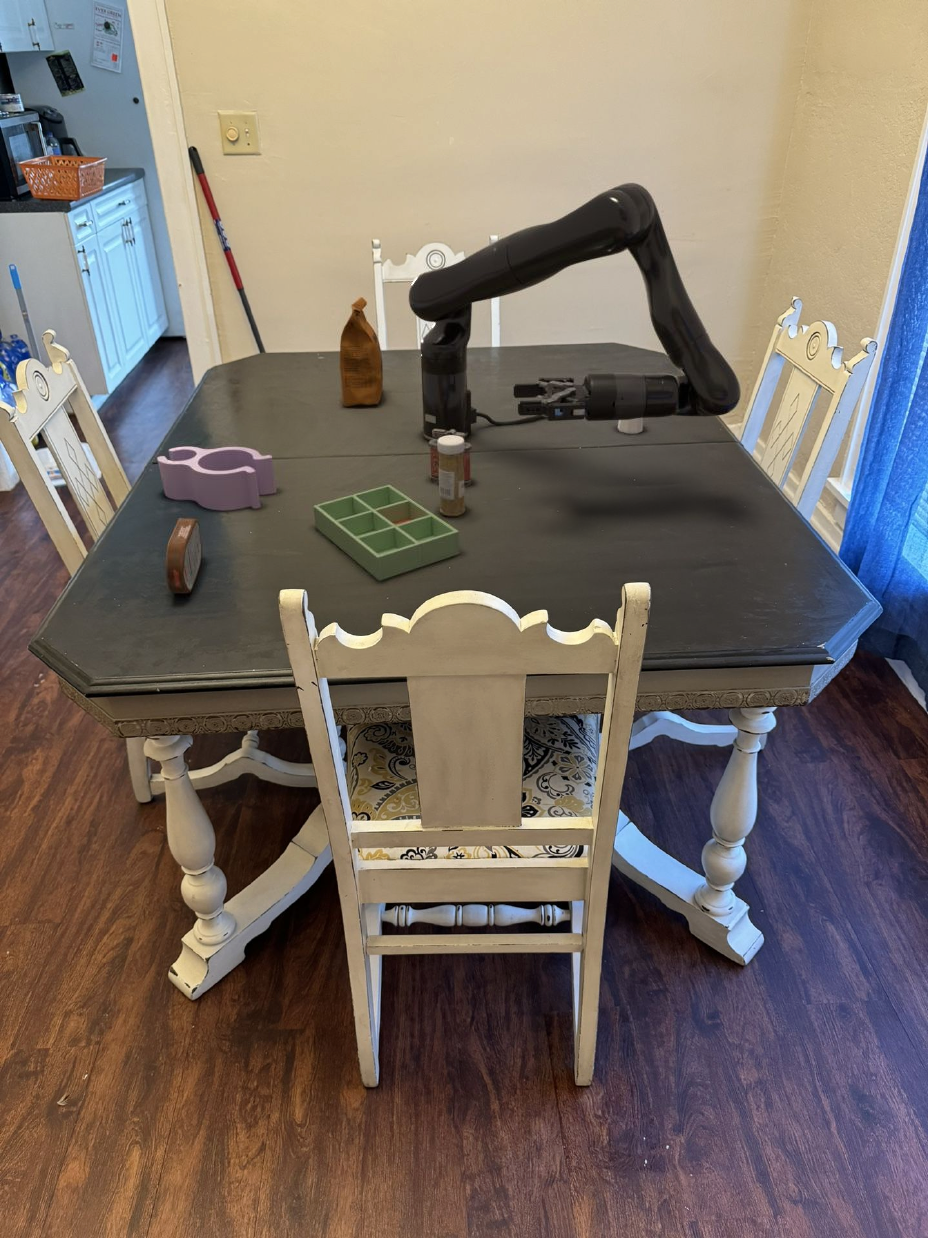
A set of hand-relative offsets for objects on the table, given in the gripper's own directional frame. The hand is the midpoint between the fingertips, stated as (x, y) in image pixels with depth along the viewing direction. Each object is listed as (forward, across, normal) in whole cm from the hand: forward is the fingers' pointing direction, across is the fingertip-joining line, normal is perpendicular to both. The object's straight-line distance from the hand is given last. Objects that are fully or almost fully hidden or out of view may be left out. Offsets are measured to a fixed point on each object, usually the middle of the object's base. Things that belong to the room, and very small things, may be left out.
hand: (515, 399), depth 142 cm
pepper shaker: (-28, -38, +20) cm, 51 cm away
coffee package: (+30, -60, +20) cm, 70 cm away
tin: (+52, +21, +20) cm, 60 cm away
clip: (+54, -10, +20) cm, 58 cm away
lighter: (+11, -13, +20) cm, 26 cm away
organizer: (+22, +10, +20) cm, 32 cm away
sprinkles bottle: (+11, 0, +20) cm, 23 cm away
